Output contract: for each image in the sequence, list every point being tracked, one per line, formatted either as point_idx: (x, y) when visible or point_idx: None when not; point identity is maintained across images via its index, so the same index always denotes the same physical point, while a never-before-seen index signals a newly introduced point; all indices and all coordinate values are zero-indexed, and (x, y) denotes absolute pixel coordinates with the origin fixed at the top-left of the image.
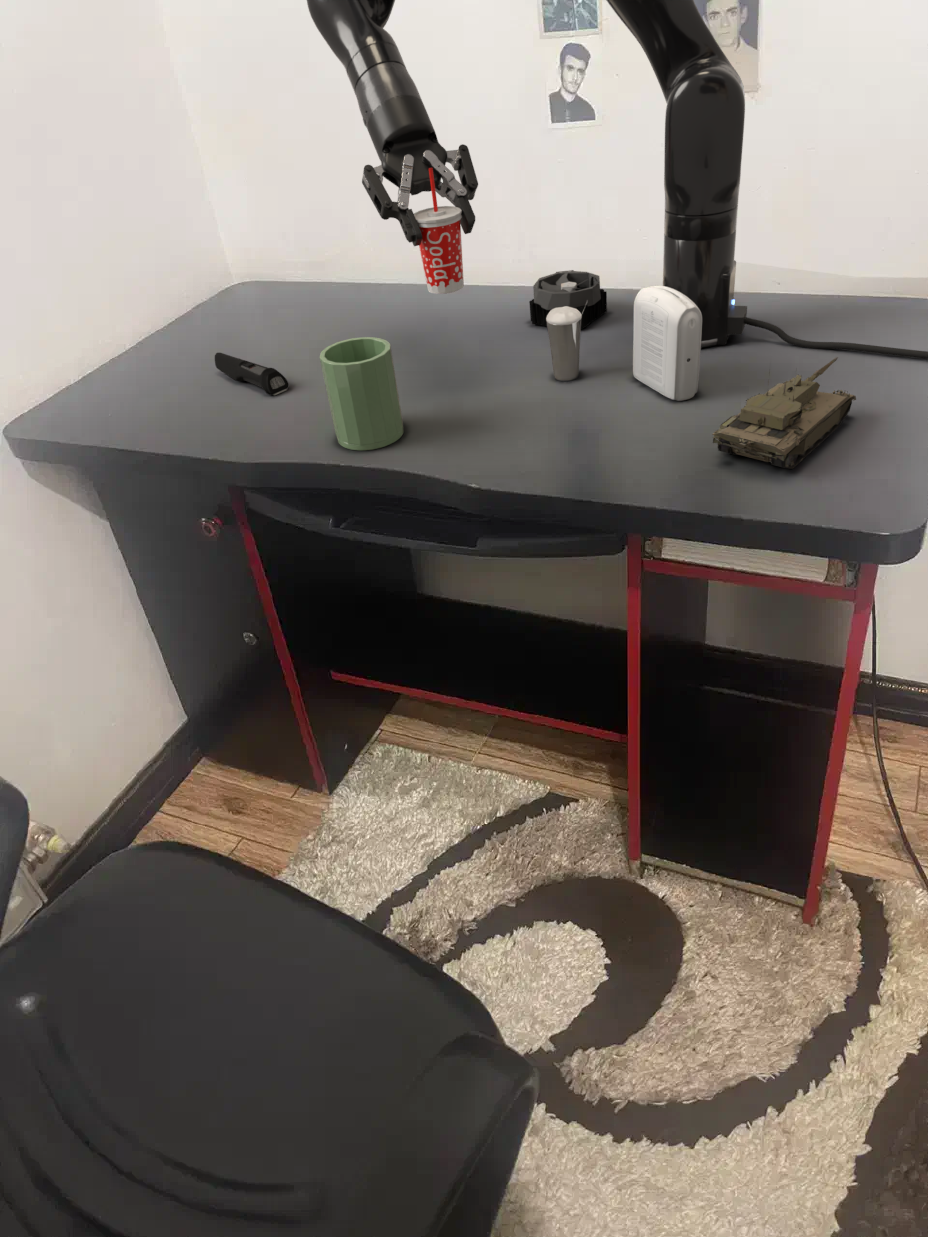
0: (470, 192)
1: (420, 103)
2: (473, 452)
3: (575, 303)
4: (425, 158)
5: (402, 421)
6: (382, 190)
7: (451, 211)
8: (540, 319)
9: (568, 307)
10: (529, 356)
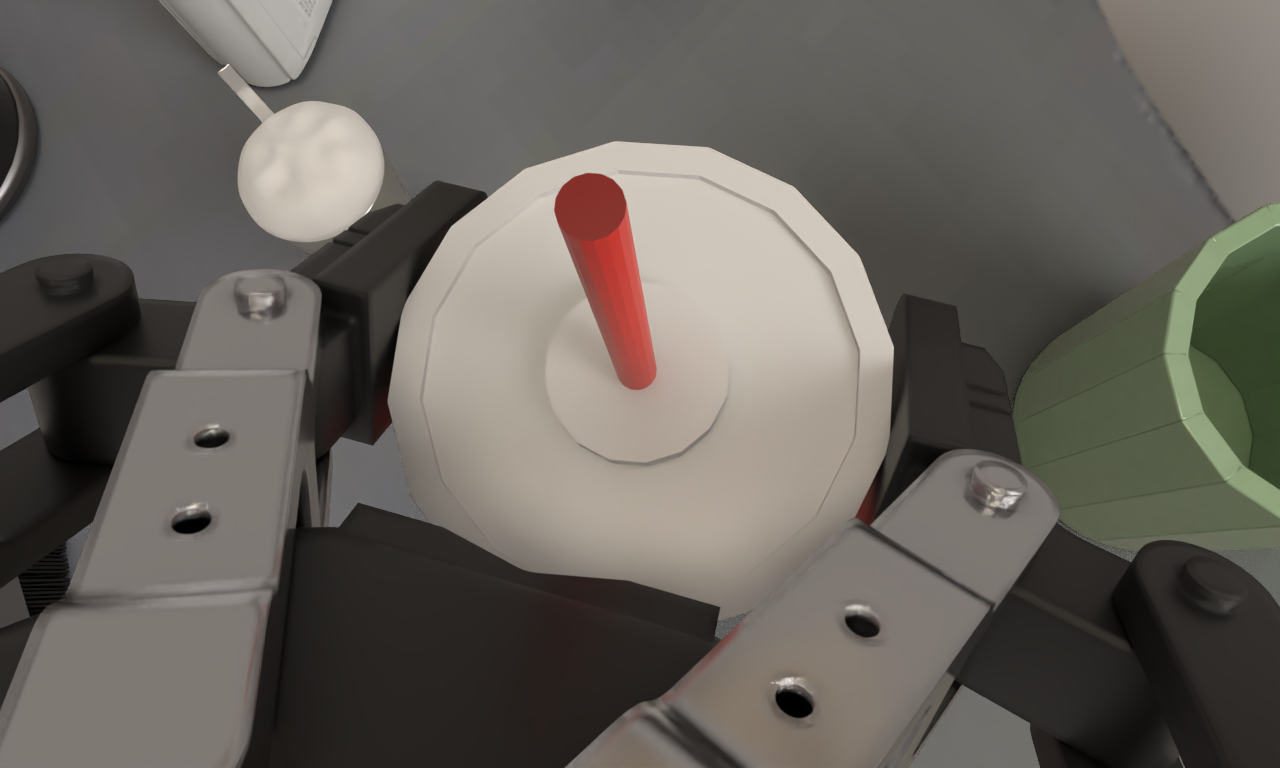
0: (175, 305)
1: None
2: (953, 86)
3: None
4: (258, 722)
5: (1036, 364)
6: (1275, 758)
7: (504, 312)
8: None
9: (261, 165)
10: (336, 495)
